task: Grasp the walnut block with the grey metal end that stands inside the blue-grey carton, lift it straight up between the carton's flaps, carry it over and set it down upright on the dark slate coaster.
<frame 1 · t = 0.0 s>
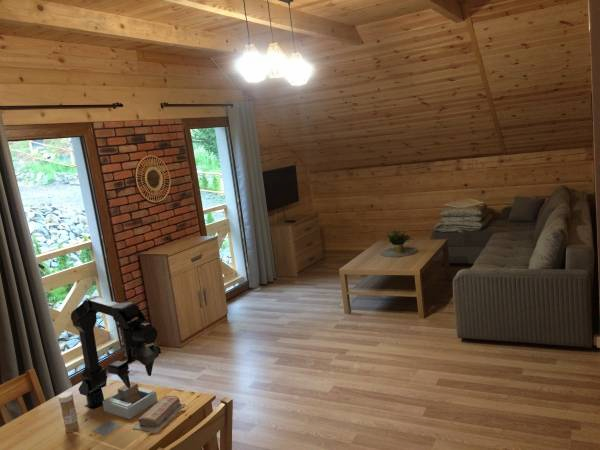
hand: (139, 381, 183), 15 cm above the table, tool pointing down, fingers open, 9 cm apart
carton: (131, 407, 196), on the table
block: (131, 406, 196), point 1 cm above the table, touching carton
packaged product: (160, 419, 186), on the table
sprinkles bottle: (72, 430, 185), on the table
coaster: (106, 429, 183), on the table
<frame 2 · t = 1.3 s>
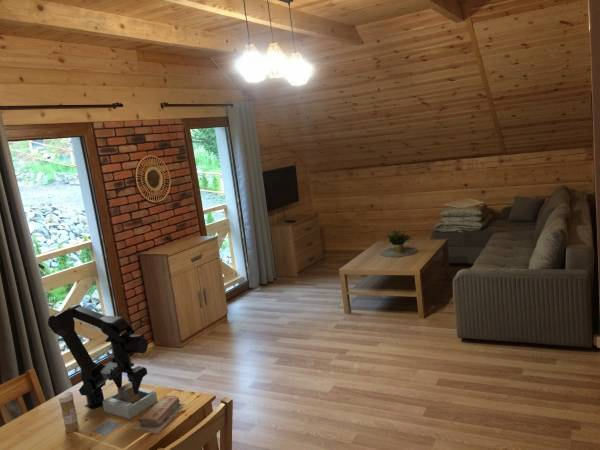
hand: (128, 391, 195), 7 cm above the table, tool pointing down, fingers open, 9 cm apart
nothing on the table moved.
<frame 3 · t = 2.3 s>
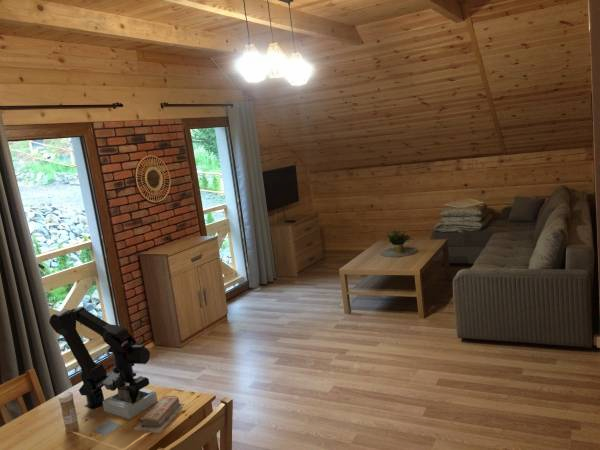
hand: (130, 401, 196), 3 cm above the table, tool pointing down, fingers closed on block, 4 cm apart
block: (131, 406, 196), point 1 cm above the table, touching carton, gripper
everything else where it was.
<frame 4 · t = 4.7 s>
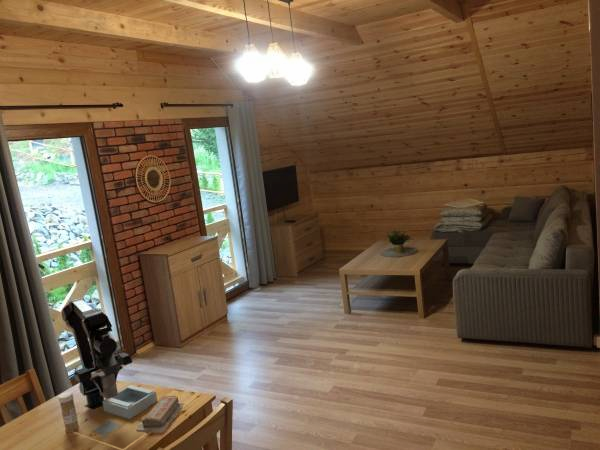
hand: (108, 389, 184), 13 cm above the table, tool pointing down, fingers closed on block, 4 cm apart
block: (109, 394, 184), point 11 cm above the table, touching gripper
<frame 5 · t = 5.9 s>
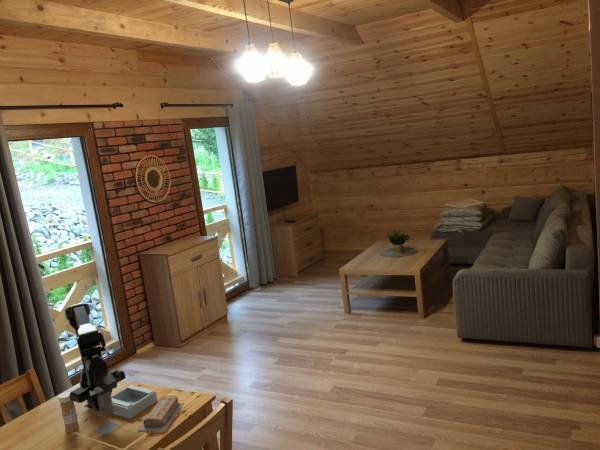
hand: (102, 407, 181), 8 cm above the table, tool pointing down, fingers closed on block, 4 cm apart
block: (103, 412, 182), point 6 cm above the table, touching gripper
when the fingers open (4 cm above the table, at t = 7.0 s): block drops 1 cm, resting on coaster.
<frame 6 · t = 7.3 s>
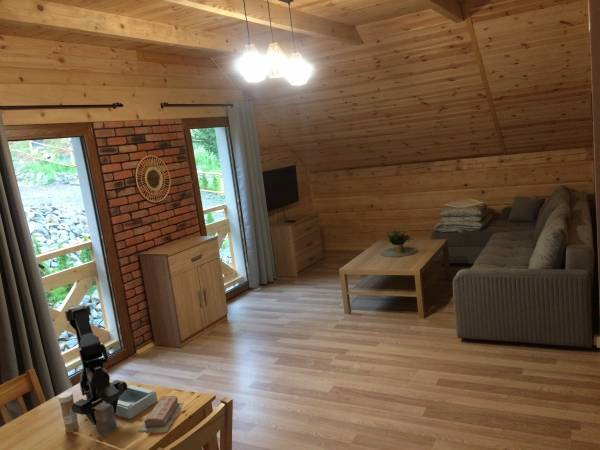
hand: (104, 419, 182), 4 cm above the table, tool pointing down, fingers open, 8 cm apart
block: (106, 427, 182), point 1 cm above the table, touching coaster
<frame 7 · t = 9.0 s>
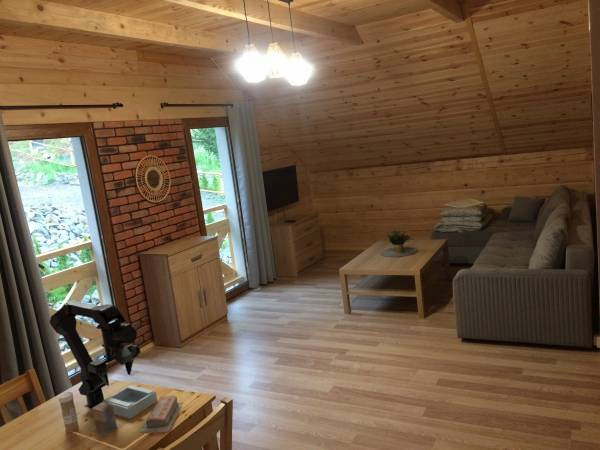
hand: (118, 380, 192), 12 cm above the table, tool pointing down, fingers open, 9 cm apart
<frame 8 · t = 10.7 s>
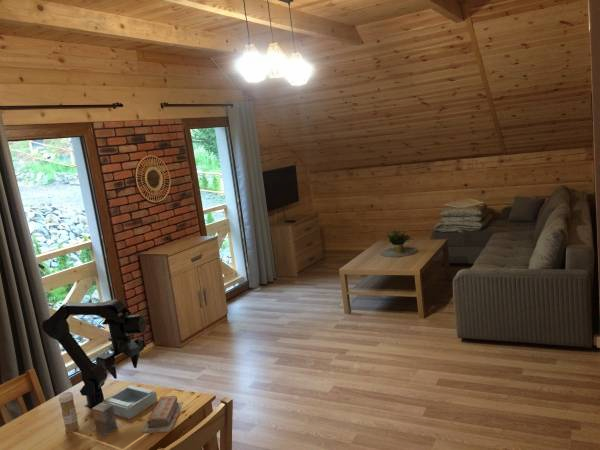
hand: (125, 373, 197), 13 cm above the table, tool pointing down, fingers open, 9 cm apart
at the end: block inside the target area on the coaster (0.1 cm from its centre), point 0.6 cm above the coaster's base; block tilted 0°; the gripper is holding nothing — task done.
